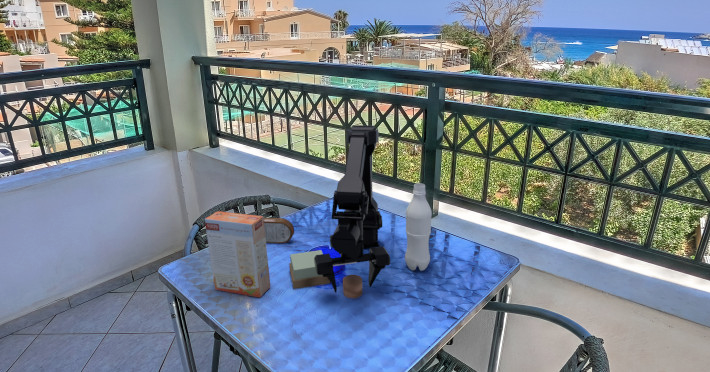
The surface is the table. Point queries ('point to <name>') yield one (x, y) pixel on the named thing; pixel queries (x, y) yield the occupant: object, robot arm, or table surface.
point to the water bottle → (418, 229)
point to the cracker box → (238, 253)
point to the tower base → (307, 281)
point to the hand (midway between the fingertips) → (352, 289)
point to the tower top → (304, 264)
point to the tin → (278, 230)
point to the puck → (352, 286)
